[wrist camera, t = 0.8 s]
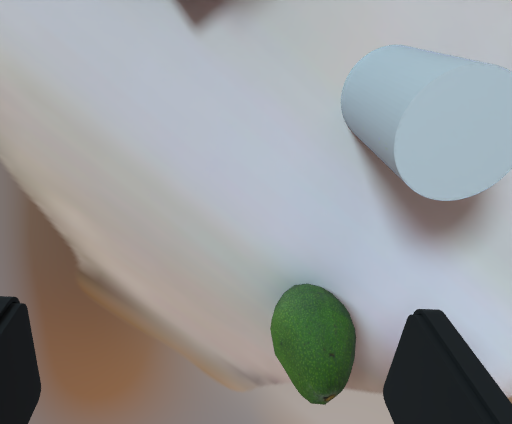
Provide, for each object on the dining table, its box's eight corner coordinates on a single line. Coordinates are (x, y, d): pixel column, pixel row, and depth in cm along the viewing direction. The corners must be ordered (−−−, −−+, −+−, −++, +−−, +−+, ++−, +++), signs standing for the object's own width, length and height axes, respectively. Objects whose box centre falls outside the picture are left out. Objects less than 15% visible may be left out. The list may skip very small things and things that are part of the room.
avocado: (266, 328, 45) (278, 428, 34) (267, 269, 41) (281, 361, 31) (336, 324, 45) (371, 422, 35) (343, 266, 42) (384, 356, 31)
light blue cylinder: (375, 161, 37) (437, 224, 26) (321, 93, 34) (367, 133, 23) (453, 99, 35) (555, 140, 24) (403, 21, 31) (494, 28, 21)
